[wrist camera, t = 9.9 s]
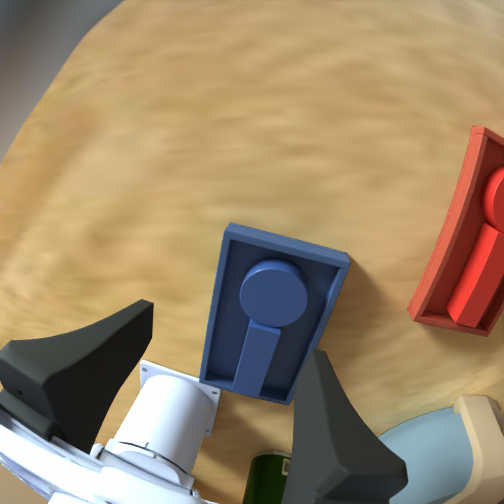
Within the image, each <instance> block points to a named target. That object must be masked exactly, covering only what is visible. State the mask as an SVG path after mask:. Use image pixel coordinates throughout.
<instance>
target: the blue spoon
mask: <svg viewBox="0 0 504 504" xmlns="http://www.w3.org/2000/svg"><path fill="white" fill-rule="evenodd" d="M240 302H241V306H242V308H243V310H244V311H245V313H246V314H247V315H248V316H249V317H250V318H251V320H250V323H249V327H248V330H247V334H246V338H245V342H244V346H243V349H242V353H241V357H240V361H239V364H238V368H237V372H236V375H235V379H234V383H233V387H232V391H233V392H237V393H241V394H245V395H249V396H253V397H257V398H258V396H259V394H260V391H261V388H262V386H263V383H264V380H265V377H266V375H267V372H268V369H269V366H270V364H271V361H272V358H273V355H274V352H275V350H276V347H277V344H278V341H279V338H280V335H281V329H282V327H283V326H287V325H290V324H292V323H294V322H295V321H297V320H298V319H299V318H300V317H301V316H302V315H303V314H304V312H305V311H306V308H307V305H308V280H307V277H306V275H305V273H304V271H303V270H302V269H301V268H300V267H299V266H298V265H297V264H296V263H294V262H292V261H290V260H288V259H285V258H281V257H269V258H265V259H262V260H260V261H258V262H256V263H255V264H254V265H252V266H251V267H250V269H249V270H248V272H247V274H246V276H245V278H244V281H243V283H242V286H241V289H240Z"/></svg>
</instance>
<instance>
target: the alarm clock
mask: <svg viewBox="0 0 504 504" xmlns="http://www.w3.org/2000/svg"><path fill="white" fill-rule="evenodd" d="M503 424H504V419H503V416H502V413H501V411H500V408H499V406H498V404H497V402H496V401H495V400H493V399H491V398H490V397H488V396H482V395H461V396H459V398H458V399H457V400H456V401H455V403H454V405H453V407H450V408H445V409H441V410H437V411H434V412H430V413H426V414H423V415H421V416H418V417H416V418H413V419H411V420H408V421H406V422H404V423H402V424H400V425H398V426H396V427H394V428H392V429H390V430H388V431H386V432H385V433H384V434H382V435H381V436H379V437H378V439H379V440H380V441H381V442H383V443H384V444H385V445H386V446H387V447H388V448H389V449H390V450H391V451H393V452H394V453H395V454H396V455H398V456H399V457H400V458H401V459H403V460H404V461H405V463H406V467H407V474H408V484H407V486H406V487H405V488H404V489H403V490H402V491H400V492H399V493H398V494H396V495H395V496H393V497H392V498H390V499H389V504H497V503H498V502H500V501H501V500H502V499H503V498H504V437H503V435H502V431H503Z"/></svg>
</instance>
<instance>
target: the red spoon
mask: <svg viewBox="0 0 504 504" xmlns="http://www.w3.org/2000/svg"><path fill="white" fill-rule="evenodd" d="M480 206H481V211H482V214H483V216H484V218H485V219H486V221H487V222H488V223H489V224H490V225H489V224H487V223H485V222H483V223H482V225H481V228H480V231H479V233H478V236H477V238H476V241H475V243H474V246H473V248H472V251H471V253H470V256H469V258H468V260H467V262H466V265H465V267H464V269H463V271H462V274H461V276H460V278H459V280H458V282H457V284H456V286H455V288H454V290H453V292H452V294H451V296H450V298H449V300H448V302H447V304H446V306H445V308H446V309H447V311H448V312H449V314H450V316H451V317H452V319H453V320H454V322H455V323H457V324H461V325H466V326H470V327H476V326H477V324H478V322H479V321H480V319H481V317H482V315H483V314H484V312H485V310H486V308H487V306H488V304H489V302H490V301H491V299H492V297H493V295H494V293H495V291H496V289H497V287H498V285H499V283H500V280H501V278H502V276H503V274H504V167H498V168H496V169H494V170H493V171H491V172H490V173H489V174H488V176H487V177H486V179H485V180H484V183H483V185H482V188H481V193H480ZM491 225H492V226H491Z"/></svg>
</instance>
